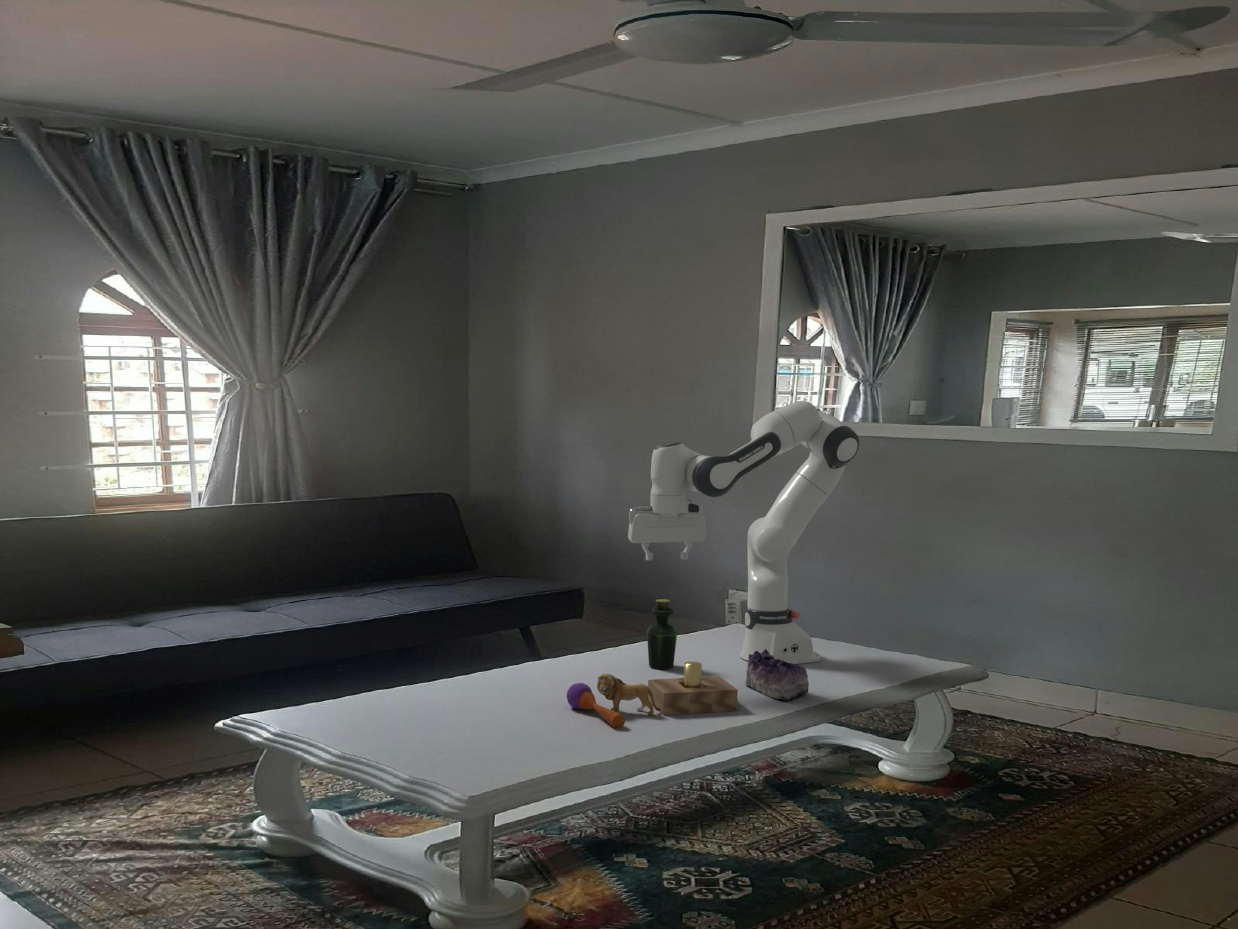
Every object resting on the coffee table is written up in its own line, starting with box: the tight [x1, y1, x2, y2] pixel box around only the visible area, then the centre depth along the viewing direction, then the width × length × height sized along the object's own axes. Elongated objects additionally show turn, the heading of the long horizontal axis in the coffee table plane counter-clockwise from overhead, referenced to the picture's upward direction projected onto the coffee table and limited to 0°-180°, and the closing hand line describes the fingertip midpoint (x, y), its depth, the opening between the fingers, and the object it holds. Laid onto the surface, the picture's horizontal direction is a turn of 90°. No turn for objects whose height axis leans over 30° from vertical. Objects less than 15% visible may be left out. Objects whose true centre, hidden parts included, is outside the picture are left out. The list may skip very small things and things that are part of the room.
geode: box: [745, 649, 810, 702], centre depth 267 cm, size 20×12×10 cm, turn 30°
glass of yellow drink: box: [683, 661, 703, 688], centre depth 252 cm, size 4×4×10 cm
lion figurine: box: [596, 673, 660, 716], centre depth 245 cm, size 15×5×9 cm, turn 94°
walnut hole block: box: [647, 675, 739, 716], centre depth 252 cm, size 18×12×5 cm, turn 105°
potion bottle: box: [646, 598, 678, 671], centre depth 287 cm, size 8×8×18 cm
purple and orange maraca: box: [566, 682, 626, 729], centre depth 242 cm, size 6×6×20 cm
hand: (666, 559), depth 274 cm, fingers open, 8 cm apart
